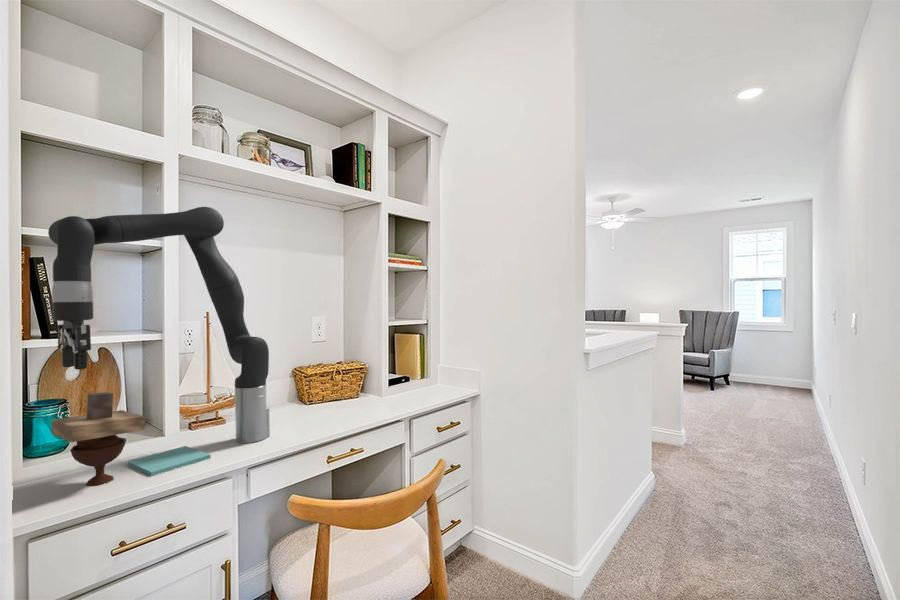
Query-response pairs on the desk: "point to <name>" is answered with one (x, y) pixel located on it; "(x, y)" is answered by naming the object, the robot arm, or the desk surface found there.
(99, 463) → the ice cream bowl
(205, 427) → the desk surface
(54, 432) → the walnut cover
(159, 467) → the teal mat
